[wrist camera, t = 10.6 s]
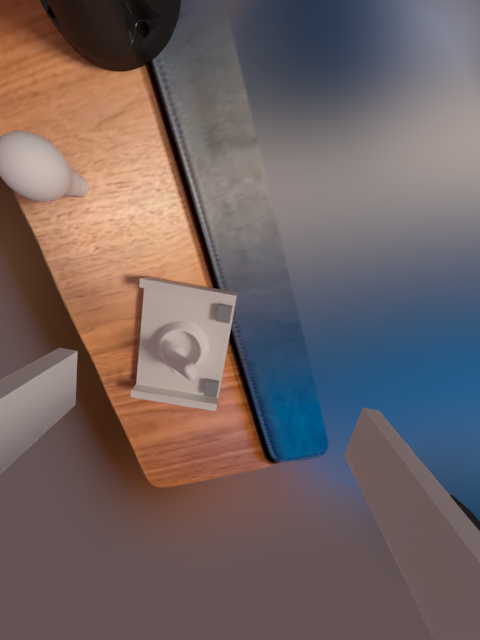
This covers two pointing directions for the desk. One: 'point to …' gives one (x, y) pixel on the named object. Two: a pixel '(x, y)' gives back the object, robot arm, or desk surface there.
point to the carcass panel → (182, 341)
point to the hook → (176, 353)
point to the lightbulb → (37, 168)
